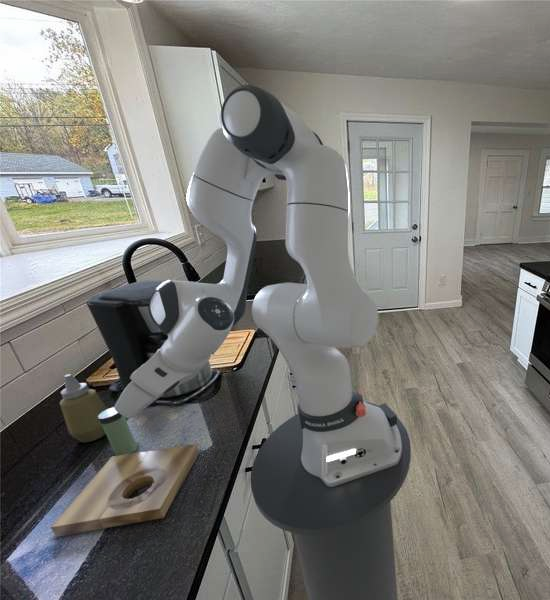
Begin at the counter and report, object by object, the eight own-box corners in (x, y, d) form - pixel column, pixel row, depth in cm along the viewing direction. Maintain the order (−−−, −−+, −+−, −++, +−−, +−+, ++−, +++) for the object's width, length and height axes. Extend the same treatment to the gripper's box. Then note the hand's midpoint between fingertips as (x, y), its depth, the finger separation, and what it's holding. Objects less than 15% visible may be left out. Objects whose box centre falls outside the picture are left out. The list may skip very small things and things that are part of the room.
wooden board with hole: (199, 452, 74) (196, 443, 74) (163, 518, 60) (159, 508, 59) (115, 464, 72) (111, 456, 71) (55, 537, 57) (50, 527, 56)
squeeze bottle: (85, 427, 84) (57, 370, 78) (122, 420, 86) (97, 363, 80) (66, 450, 77) (33, 388, 70) (106, 441, 79) (78, 381, 73)
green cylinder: (141, 443, 78) (125, 405, 74) (131, 456, 74) (113, 417, 70) (123, 445, 77) (106, 407, 73) (111, 459, 73) (92, 420, 69)
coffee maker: (207, 402, 92) (174, 294, 80) (77, 424, 85) (20, 309, 74) (228, 362, 113) (204, 272, 101) (125, 377, 106) (86, 283, 94)
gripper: (202, 329, 75) (176, 363, 80) (123, 378, 56) (95, 420, 60) (224, 346, 76) (197, 379, 81) (154, 399, 57) (124, 439, 61)
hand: (153, 397), depth 70 cm, fingers open, 8 cm apart
